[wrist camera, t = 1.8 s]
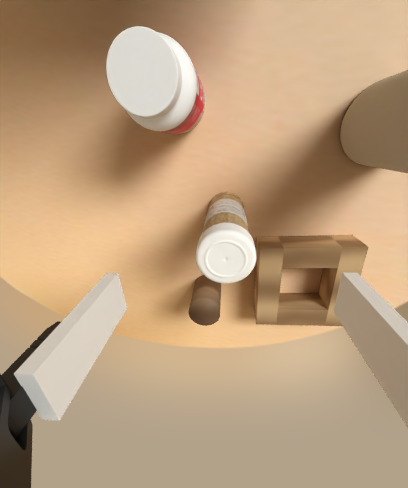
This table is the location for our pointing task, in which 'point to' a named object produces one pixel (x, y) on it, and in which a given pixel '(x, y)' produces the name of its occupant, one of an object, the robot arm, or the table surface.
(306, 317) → the oak collar
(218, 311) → the walnut stub
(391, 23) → the table surface
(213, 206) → the sprinkles bottle
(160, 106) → the pill bottle
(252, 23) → the table surface
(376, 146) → the travel mug
